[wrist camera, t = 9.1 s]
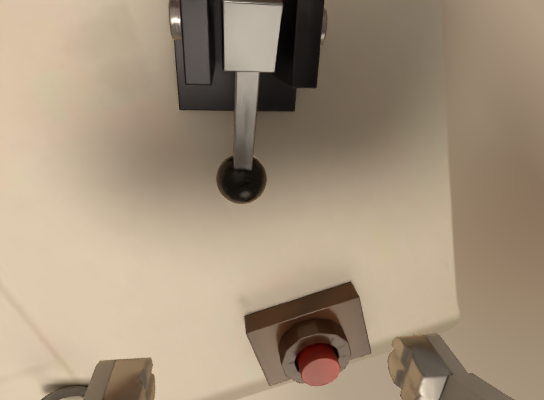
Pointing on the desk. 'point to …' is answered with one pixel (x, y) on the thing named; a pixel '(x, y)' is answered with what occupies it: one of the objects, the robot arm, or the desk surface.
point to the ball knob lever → (247, 87)
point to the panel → (308, 331)
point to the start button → (318, 364)
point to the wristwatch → (66, 393)
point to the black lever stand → (220, 84)
